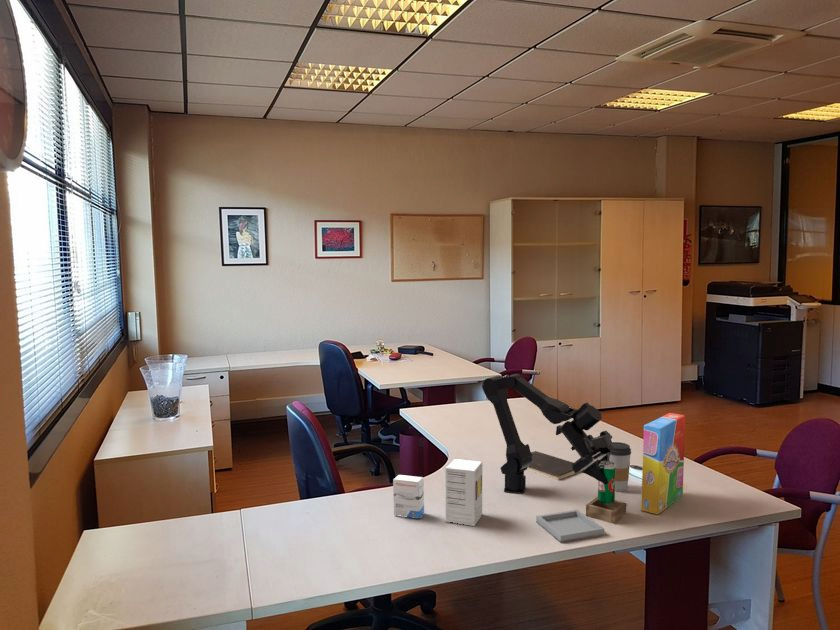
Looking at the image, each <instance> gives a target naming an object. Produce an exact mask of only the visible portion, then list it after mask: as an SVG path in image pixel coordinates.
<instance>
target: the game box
mask: <svg viewBox="0 0 840 630" xmlns="http://www.w3.org/2000/svg"><path fill="white" fill-rule="evenodd" d="M685 434H686V416H685V414H679V413H673V412H668V413H667V414H664V415H662V416H661V417H658V418H657V419H655V420H653V421H650V422H648V423H646V424H644V425H643V441H642V442H643V444H642V451H643V452H642V474H641V475H642V476H641V499H640V500H641V502H640V503H641V505H640V510H641V511H643V512H647V513H650V514H654V515H659V514H661V513H662V512H663V511H664V510H666V509H668V507H670V506H672V505H673V504H674V503H676V502H677V501H678V500H679V499H681V498H682V497H683V494H684V470H685V469H684V467H685V466H684V465H685V464H684V463H685V459H684V458H685V442H686V441H685V438H686V435H685Z"/></svg>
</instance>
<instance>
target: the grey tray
mask: <svg viewBox="0 0 840 630" xmlns="http://www.w3.org/2000/svg"><path fill="white" fill-rule="evenodd" d="M535 523H536V524H537V525H538V526H540V527H541V528H542V529H543V530H544V531H546V532H547V533H548V534H549V535H551V536H552V537H553V538H554V539H555V540H556V541H558V542H559V543H560V544H561V543H568V542H573V541H578V540H585V539H592V538H596V537H597V538H598V537H603V536H605V528H604V527H603V526H601V525H600V524H598V523H597V522H595V521H594V520H593V519H592V518H591V517H588V516H586V514H584V513H583V512H582V511H580V509H573V510H565V511H558V512H553V513H546V514H538V515H536V516H535Z"/></svg>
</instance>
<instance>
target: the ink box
mask: <svg viewBox="0 0 840 630" xmlns="http://www.w3.org/2000/svg"><path fill="white" fill-rule="evenodd" d="M392 480H393V481H392V488H393V516H394V515H401V516H407V517H414V518H420V517H421V516H422V515H423V516H424V514H425V491H424V489H425V487H424V486H425V485H424V483H425V481H424V480H425V479H424V477H423V476H416V475H415V476H413V475H404V474H398V475H397V476H395V478H393V479H392ZM423 513H424V514H423ZM423 516H422V517H423ZM422 517H421V518H422ZM421 518H420V519H421Z"/></svg>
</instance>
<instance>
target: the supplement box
mask: <svg viewBox="0 0 840 630" xmlns="http://www.w3.org/2000/svg"><path fill="white" fill-rule="evenodd" d="M444 474H445V483H444V485H445V522H446V523H450V522H453V523H452V524H457V523H458V524H457V525H463V524H464V525H465V526H472V527H475V526H476V524H477V523H478V522H479V520H480V519H481V517H482V516H483V461H478V460H468V459H459V458H458V459H457V458H454V459H453V460H452V461H451V462H450V463H449V464H448V465H447V466H446V467H445V470H444ZM481 515H482V516H481Z"/></svg>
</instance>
